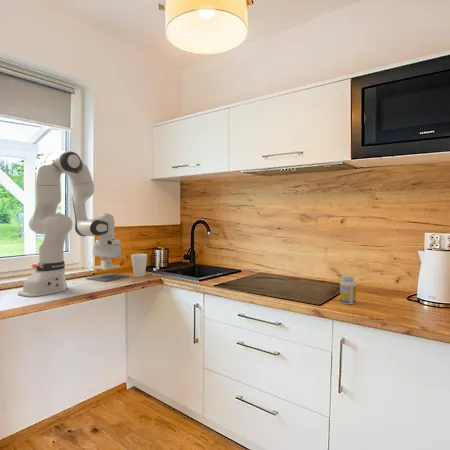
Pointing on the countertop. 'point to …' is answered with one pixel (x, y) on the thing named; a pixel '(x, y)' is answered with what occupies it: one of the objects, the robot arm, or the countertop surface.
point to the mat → (107, 277)
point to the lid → (106, 266)
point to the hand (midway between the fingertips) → (106, 264)
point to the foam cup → (139, 264)
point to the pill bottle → (348, 290)
